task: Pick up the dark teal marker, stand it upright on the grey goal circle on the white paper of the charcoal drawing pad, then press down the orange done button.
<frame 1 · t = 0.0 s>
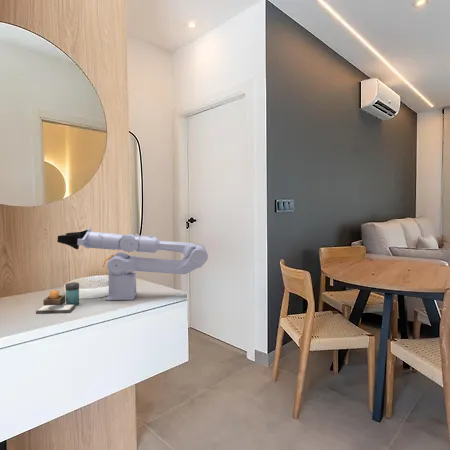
hand: (62, 237, 113), 22 cm above the cabinet, tool horizontal, fingers open, 7 cm apart
figurine: (113, 283, 136), on the cabinet
done button: (54, 296, 108), point 3 cm above the cabinet, slide at 0.0 cm
marker: (72, 304, 109), on the cabinet
button collar: (54, 304, 108), on the cabinet
drawing pad: (56, 310, 103), on the cabinet
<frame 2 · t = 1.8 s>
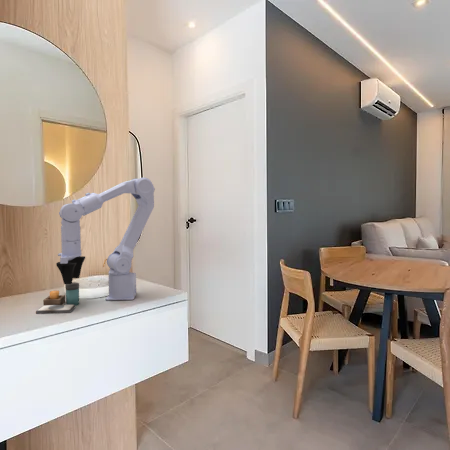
hand: (72, 280, 108), 8 cm above the cabinet, tool pointing down, fingers open, 7 cm apart
nothing on the cabinet moved.
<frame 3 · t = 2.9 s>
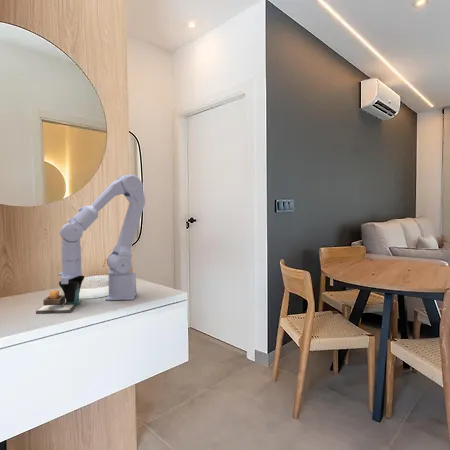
hand: (72, 299, 109), 2 cm above the cabinet, tool pointing down, fingers closed on marker, 4 cm apart
marker: (72, 304, 109), on the cabinet, touching gripper
everything else where it was.
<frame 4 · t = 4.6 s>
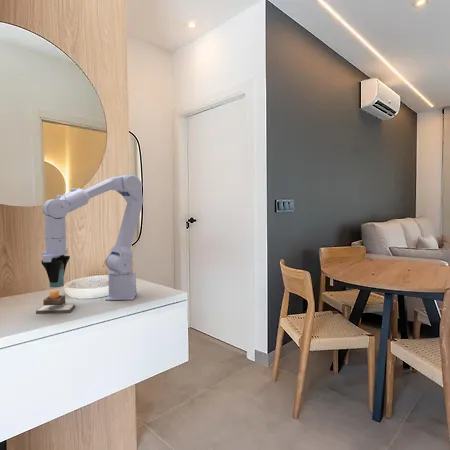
hand: (56, 280, 103), 10 cm above the cabinet, tool pointing down, fingers closed on marker, 4 cm apart
marker: (56, 285, 103), point 8 cm above the cabinet, touching gripper
everything else where it was.
when the fingers open (3 cm above the cabinet, at t = 6.2 s): marker stays where it is, resting on drawing pad.
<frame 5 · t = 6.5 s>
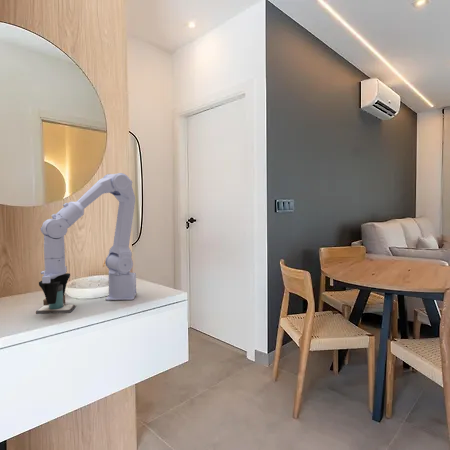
hand: (56, 299, 103), 3 cm above the cabinet, tool pointing down, fingers open, 6 cm apart
marker: (56, 307, 103), point 1 cm above the cabinet, touching drawing pad
everything else where it was.
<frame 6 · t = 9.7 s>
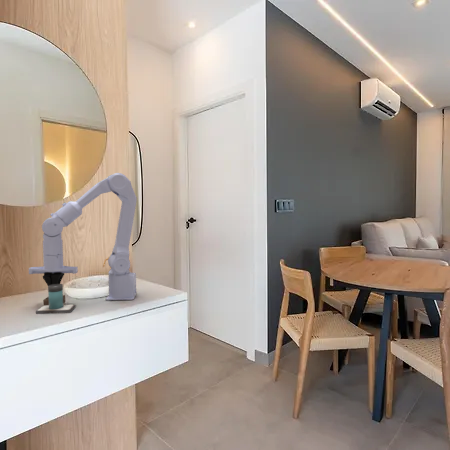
hand: (54, 294, 108), 3 cm above the cabinet, tool pointing down, fingers closed, pressing on done button
done button: (54, 299, 108), point 2 cm above the cabinet, slide at 1.0 cm, touching gripper
everything else where it was.
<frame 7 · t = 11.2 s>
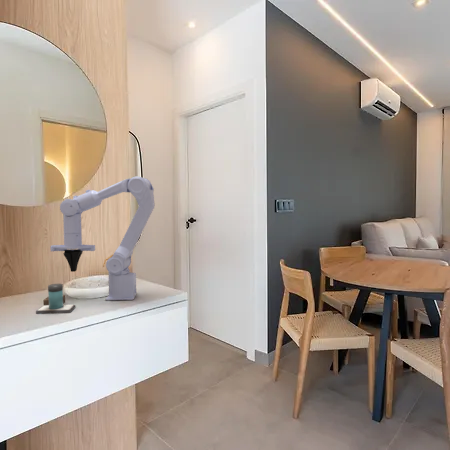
hand: (73, 271, 116), 9 cm above the cabinet, tool pointing down, fingers closed
done button: (54, 299, 108), point 2 cm above the cabinet, slide at 1.1 cm
everything else where it was.
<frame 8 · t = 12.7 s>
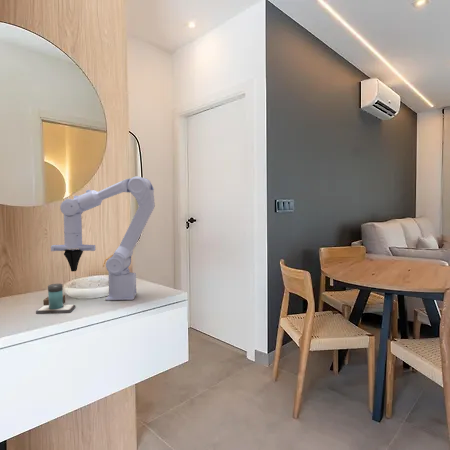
hand: (74, 270, 117), 9 cm above the cabinet, tool pointing down, fingers closed
nothing on the cabinet moved.
at the end: marker 0.0 cm off-centre on the drawing pad, point 1.1 cm above the drawing pad's base; marker tilted 1°; done button slide at 1.1 cm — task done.
